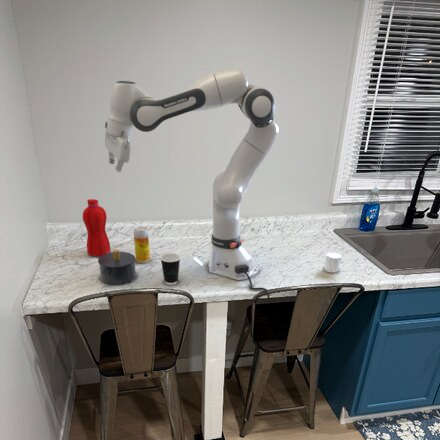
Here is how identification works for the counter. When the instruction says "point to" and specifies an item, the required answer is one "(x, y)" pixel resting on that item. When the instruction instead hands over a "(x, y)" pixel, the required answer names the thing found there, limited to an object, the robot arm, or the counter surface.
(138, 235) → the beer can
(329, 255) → the white cylinder
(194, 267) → the counter surface
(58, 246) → the counter surface
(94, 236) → the water bottle
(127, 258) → the pot lid
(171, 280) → the dixie cup
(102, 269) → the pot
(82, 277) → the counter surface
